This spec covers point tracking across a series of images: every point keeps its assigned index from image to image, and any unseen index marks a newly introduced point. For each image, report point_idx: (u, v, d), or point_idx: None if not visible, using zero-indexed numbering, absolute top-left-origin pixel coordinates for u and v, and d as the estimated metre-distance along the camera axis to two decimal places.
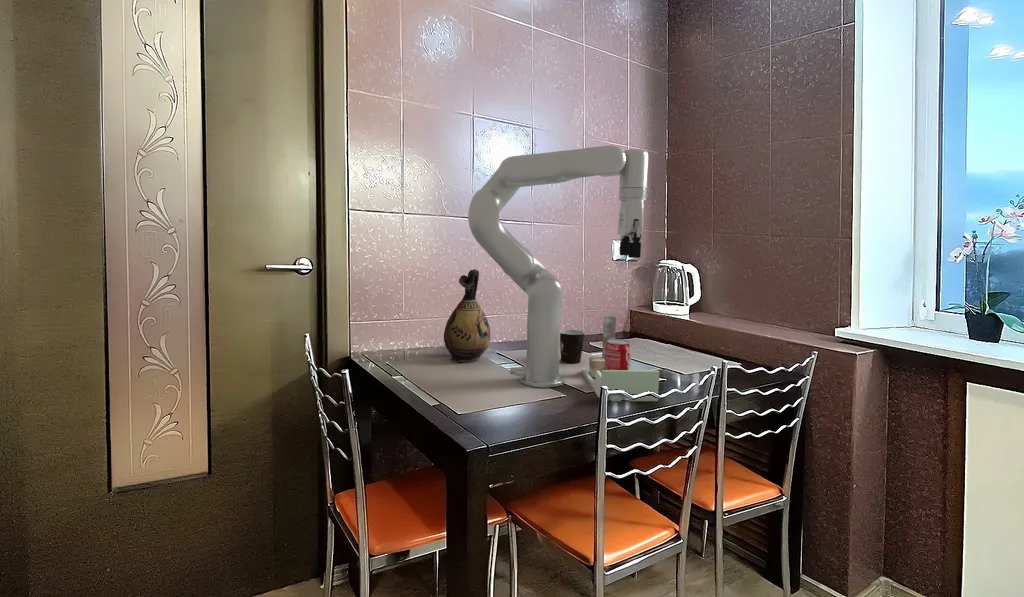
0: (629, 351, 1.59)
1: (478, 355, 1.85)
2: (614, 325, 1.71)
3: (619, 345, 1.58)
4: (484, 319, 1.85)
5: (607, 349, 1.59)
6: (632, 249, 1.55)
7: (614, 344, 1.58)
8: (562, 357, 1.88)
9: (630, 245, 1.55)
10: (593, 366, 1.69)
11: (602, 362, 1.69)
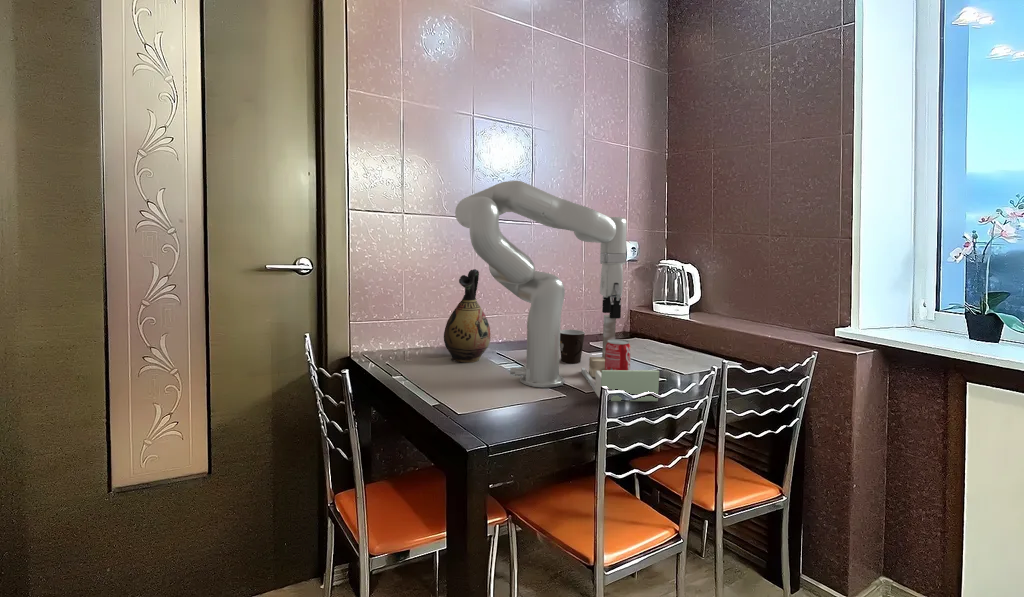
0: (629, 351, 1.59)
1: (478, 355, 1.85)
2: (614, 325, 1.71)
3: (619, 345, 1.58)
4: (484, 319, 1.85)
5: (607, 349, 1.59)
6: (613, 311, 1.66)
7: (614, 344, 1.58)
8: (562, 357, 1.88)
9: (611, 307, 1.66)
10: (593, 366, 1.69)
11: (602, 362, 1.69)
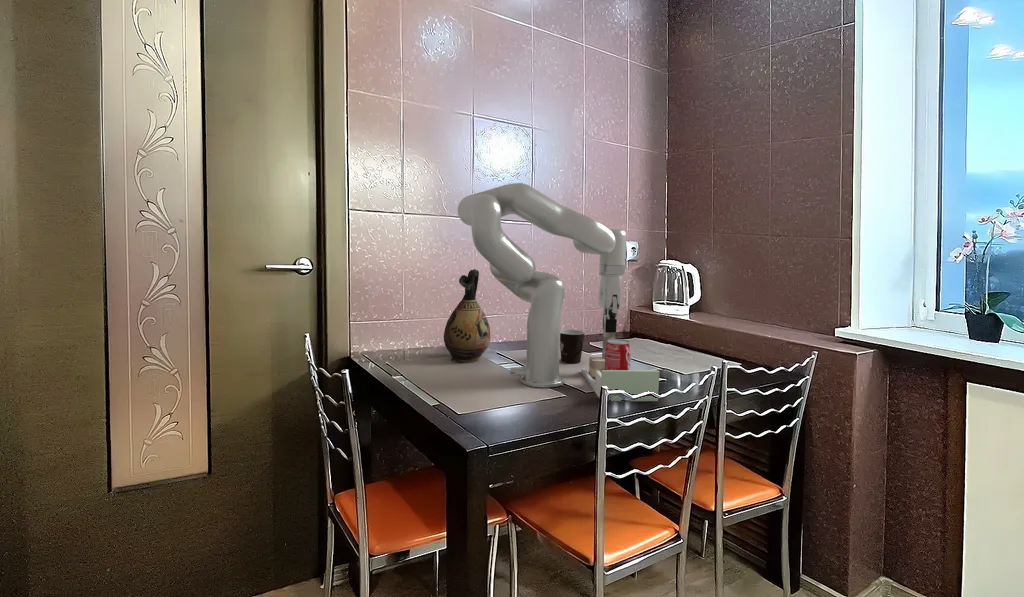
0: (629, 351, 1.59)
1: (478, 355, 1.85)
2: None
3: (619, 345, 1.58)
4: (484, 319, 1.85)
5: (607, 349, 1.59)
6: (608, 325, 1.69)
7: (614, 344, 1.58)
8: (562, 357, 1.88)
9: (607, 321, 1.70)
10: (593, 366, 1.69)
11: (602, 362, 1.69)
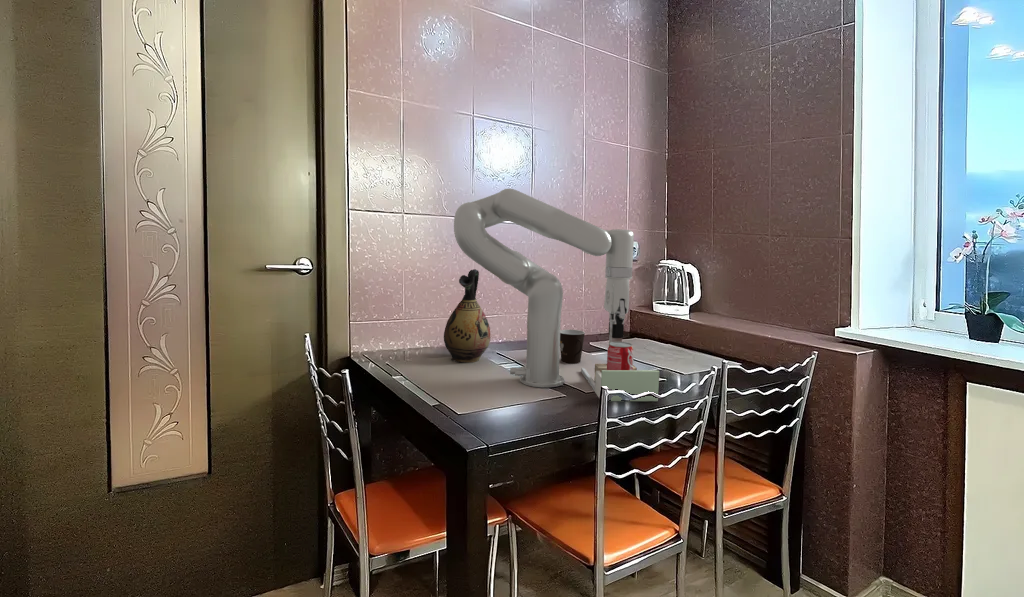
0: (631, 354, 1.55)
1: (478, 355, 1.85)
2: None
3: (620, 348, 1.54)
4: (484, 319, 1.85)
5: (609, 352, 1.56)
6: (615, 330, 1.61)
7: (615, 347, 1.54)
8: (562, 357, 1.88)
9: (613, 326, 1.61)
10: None
11: None
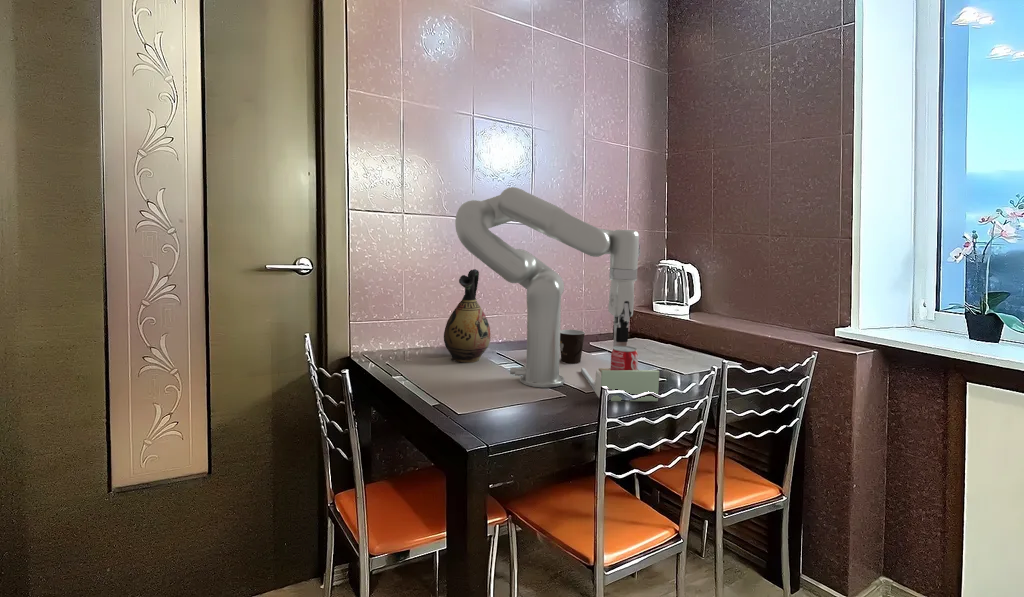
0: (635, 359, 1.49)
1: (478, 355, 1.85)
2: None
3: (624, 352, 1.49)
4: (484, 319, 1.85)
5: (612, 356, 1.51)
6: (619, 334, 1.56)
7: (619, 351, 1.49)
8: (562, 357, 1.88)
9: (617, 330, 1.56)
10: None
11: None
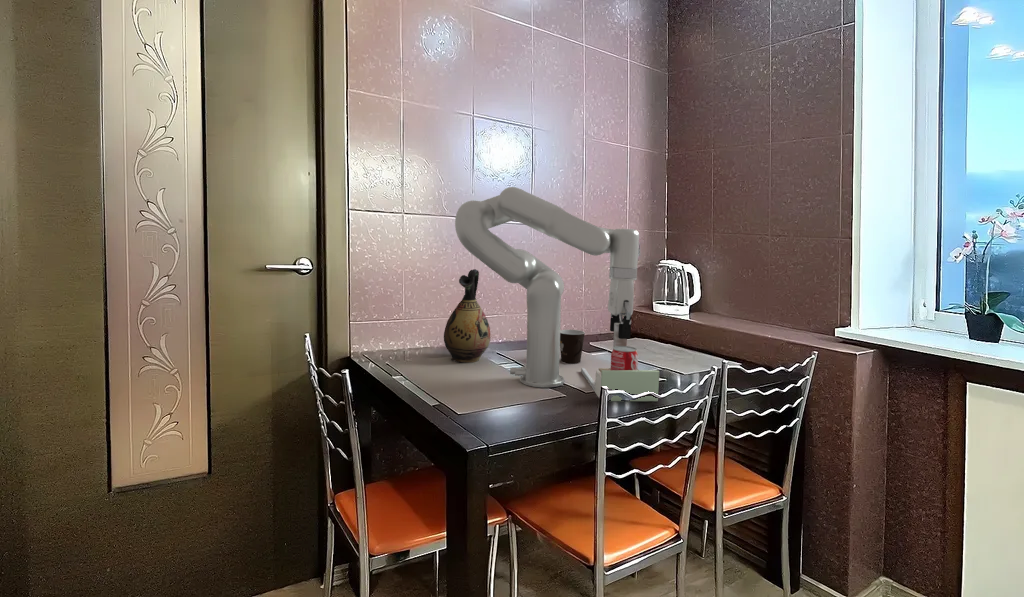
0: (635, 359, 1.49)
1: (478, 355, 1.85)
2: None
3: (624, 352, 1.49)
4: (484, 319, 1.85)
5: (612, 356, 1.51)
6: (622, 330, 1.53)
7: (619, 351, 1.49)
8: (562, 357, 1.88)
9: (620, 326, 1.53)
10: None
11: None
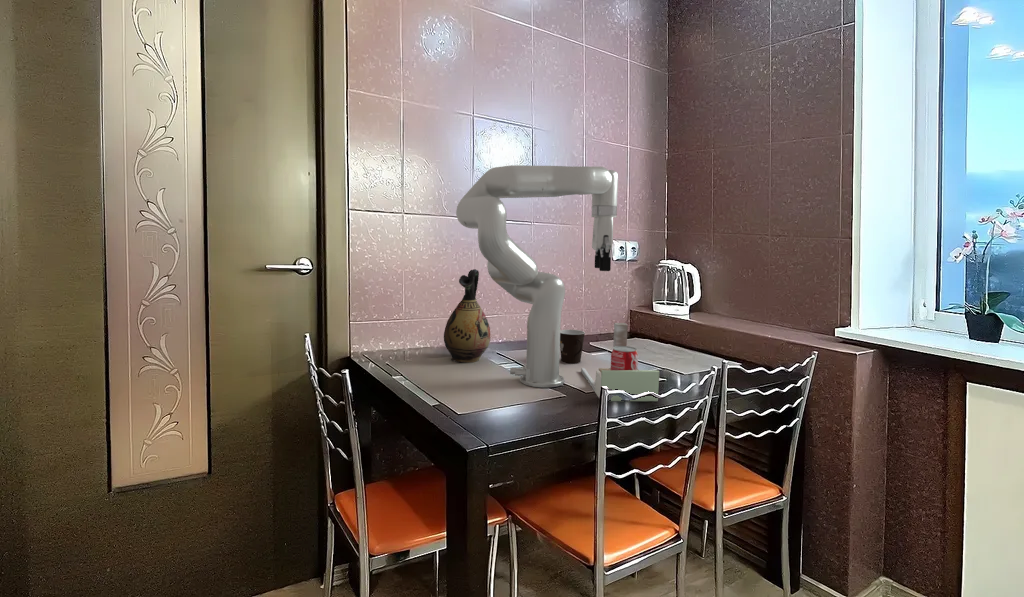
0: (635, 359, 1.49)
1: (478, 355, 1.85)
2: (626, 334, 1.57)
3: (624, 352, 1.49)
4: (484, 319, 1.85)
5: (612, 356, 1.51)
6: (602, 263, 1.67)
7: (619, 351, 1.49)
8: (562, 357, 1.88)
9: (600, 259, 1.67)
10: None
11: None
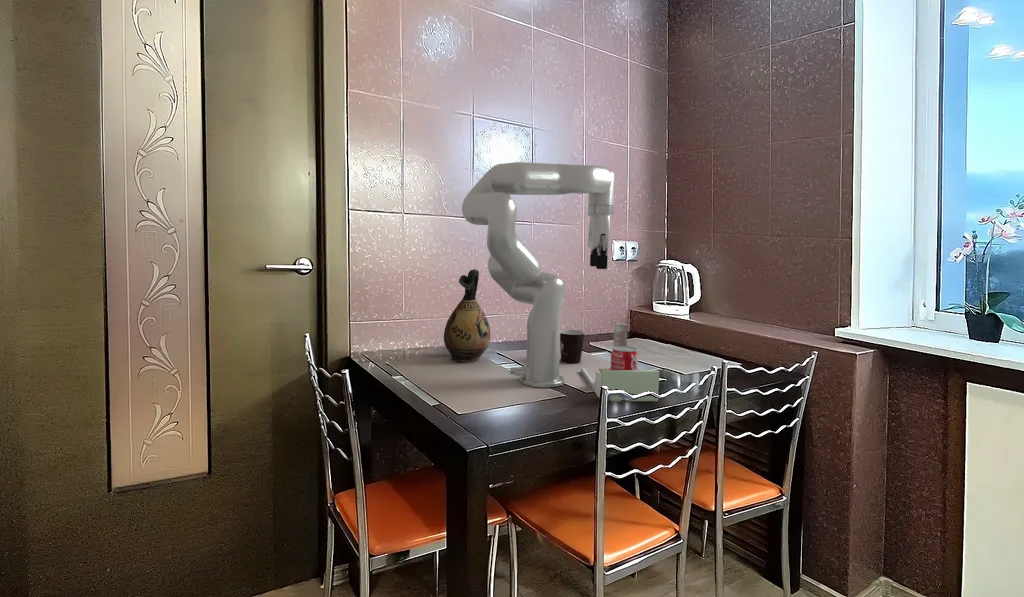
0: (635, 359, 1.49)
1: (478, 355, 1.85)
2: (626, 334, 1.57)
3: (624, 352, 1.49)
4: (484, 319, 1.85)
5: (612, 356, 1.51)
6: (599, 261, 1.69)
7: (619, 351, 1.49)
8: (562, 357, 1.88)
9: (597, 257, 1.69)
10: None
11: None
